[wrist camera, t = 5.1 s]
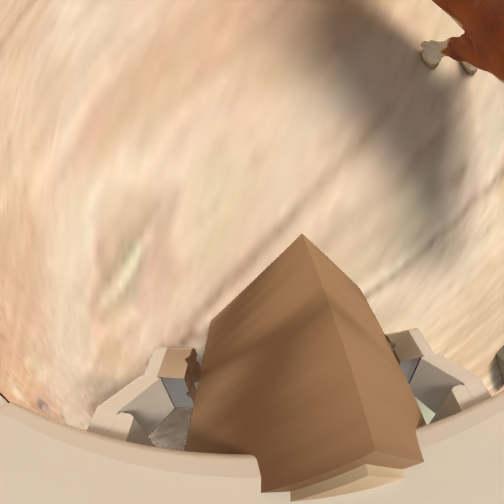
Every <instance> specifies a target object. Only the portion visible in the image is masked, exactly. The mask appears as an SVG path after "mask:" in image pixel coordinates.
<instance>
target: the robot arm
mask: <svg viewBox="0 0 504 504" xmlns="http://www.w3.org/2000/svg"><path fill="white" fill-rule="evenodd" d="M385 336H386V338H387V340H388V342H389V344H390V346H391V348H392V350H393V352H394V354H395V356H396V358H397V360H398V362H399V364H400V366H401V368H402V370H403V373H404V375H405V377H406V379H407V381H408V383H409V385H410V388H411V390H412V392H413V394H414V397H416V398H417V399H418V400H419V401H421V402H422V403H423V404H424V405H425V406H427V407H428V408H429V409H430V410H431V411H433V412H434V413H435V415H434V417H433V418H432V420H431V421H430V423H429V424H427V425H424V426H422V427H419V428H417V429H416V435H417V439H418V443H419V447H420V451H421V453H422V456H423V459H424V462H422V463H420V464H417V465H414V466H411V467H408V468H405V469H403V473H404V476H405V479H402V480H399V481H396V482H393V483H389V484H386V485H382V486H379V487H375V488H371V489H367V490H363V491H358V492H354V493H349V494H344V495H339V496H333V497H327V498H320V499H312V500H304V501H293V502H291V501H290V491H289V492H272V493H261V475H260V471H259V467H258V462H257V459H256V458H255V457H254V456H253V455H250V454H216V453H201V452H190V451H181V450H173V449H166V448H159V447H155V445H154V444H153V443H152V441H151V440H150V439H149V438H148V435H149V434H150V433H151V432H152V431H153V430H154V429H155V428H156V427H157V426H158V425H159V424H160V423H161V422H162V421H163V420H164V419H165V418H166V417H167V416H168V415H169V413H170V412H171V411H172V410H173V409H174V407H184V408H193V405H194V401H195V396H196V391H197V390H196V389H197V385H198V381H199V377H200V372H201V368H200V364H199V363H198V362H197V361H196V357H197V354H196V351H195V349H194V348H179V347H159V346H157V347H156V348H155V349H154V351H153V354H152V356H151V359H150V361H149V363H148V366H147V368H146V371H145V373H144V376H139V377H138V378H136V379H135V380H134V381H132V382H131V383H130V384H128V385H127V386H125V387H124V388H123V389H121V390H120V391H119V392H117V393H116V394H114V395H113V396H112V397H110V398H109V399H107V400H106V401H105V402H103V403H102V404H100V405H99V406H98V407H97V409H96V411H95V413H94V416H93V418H92V420H91V422H90V425H89V427H88V429H87V431H85V430H82V429H79V428H76V427H73V426H70V425H67V424H64V423H61V422H59V421H56V420H53V419H51V418H48V417H46V416H43V415H41V414H39V413H36V412H34V411H32V410H29V409H27V408H25V407H23V406H21V405H19V404H16V403H12V402H11V403H8V402H7V401H6V400H5V399H4V398H3V397H2V396H1V395H0V504H504V391H502V392H500V393H498V394H496V395H494V396H491V395H490V393H489V391H488V390H487V388H486V386H485V385H484V383H483V381H482V380H481V378H480V377H479V376H478V375H476V374H474V373H473V372H471V371H469V370H467V369H465V368H463V367H462V366H460V365H458V364H456V363H454V362H453V361H451V360H449V359H447V358H445V357H443V356H442V355H440V354H438V353H437V354H434V352H433V350H432V349H431V347H430V346H429V344H428V342H427V341H426V339H425V338H424V336H423V335H422V333H421V332H420V330H419V329H417V328H415V329H410V330H406V331H400V332H395V333H389V334H385Z"/></svg>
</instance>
